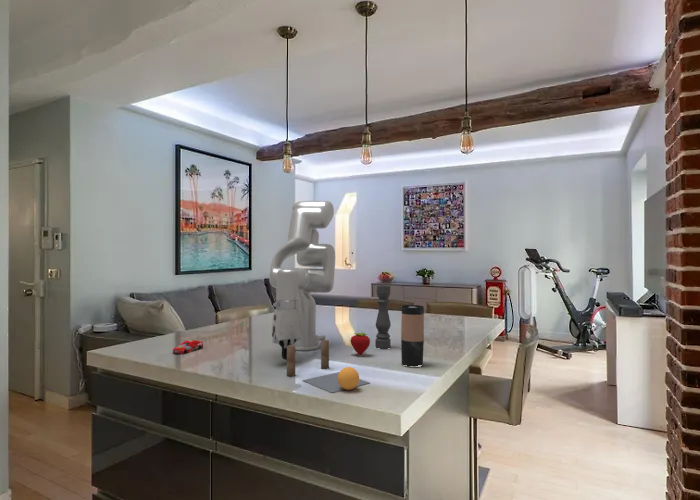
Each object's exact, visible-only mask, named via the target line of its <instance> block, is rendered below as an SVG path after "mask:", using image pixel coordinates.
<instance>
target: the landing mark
mask: <svg viewBox="0 0 700 500" xmlns="http://www.w3.org/2000/svg"><path fill="white" fill-rule="evenodd" d="M339 372H340V371H339ZM339 372H333V373H329V374H325V375H319V376H315V377H311V378H306V379H303V380H302V382H303V383H307V384H309V385H312V386H314V387H316V388H318V389H320V390H323V391H326V392H328V393H331V394H334V393H338V392H342V391H346V389H344V388H342V387H341V386H340V385H339V383H338V374H339ZM369 384H371V382H370V381H367V380H364V379H360V378H359V383H358V385H357V386H356V387H355V388H357V387H360V386H365V385H369Z"/></svg>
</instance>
